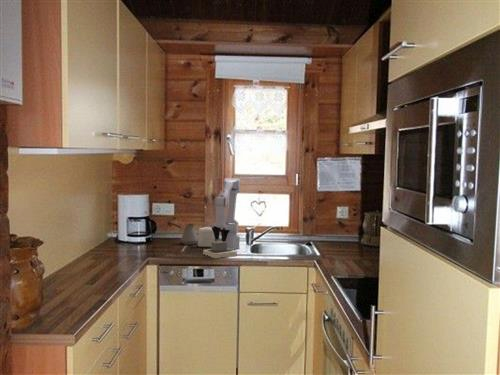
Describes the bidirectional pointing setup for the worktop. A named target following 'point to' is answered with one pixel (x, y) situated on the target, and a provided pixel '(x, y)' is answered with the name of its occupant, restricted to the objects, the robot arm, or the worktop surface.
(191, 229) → the coffee pot
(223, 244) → the housing
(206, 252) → the stand
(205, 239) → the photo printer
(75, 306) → the worktop surface
